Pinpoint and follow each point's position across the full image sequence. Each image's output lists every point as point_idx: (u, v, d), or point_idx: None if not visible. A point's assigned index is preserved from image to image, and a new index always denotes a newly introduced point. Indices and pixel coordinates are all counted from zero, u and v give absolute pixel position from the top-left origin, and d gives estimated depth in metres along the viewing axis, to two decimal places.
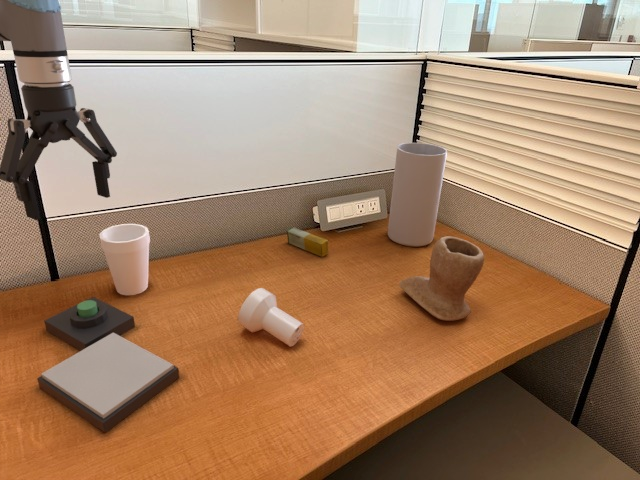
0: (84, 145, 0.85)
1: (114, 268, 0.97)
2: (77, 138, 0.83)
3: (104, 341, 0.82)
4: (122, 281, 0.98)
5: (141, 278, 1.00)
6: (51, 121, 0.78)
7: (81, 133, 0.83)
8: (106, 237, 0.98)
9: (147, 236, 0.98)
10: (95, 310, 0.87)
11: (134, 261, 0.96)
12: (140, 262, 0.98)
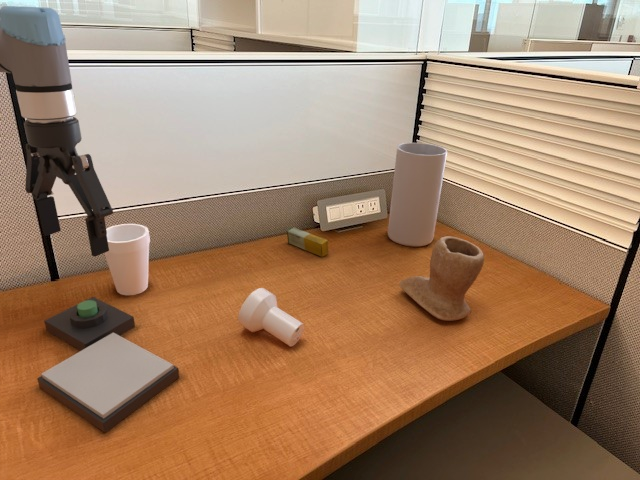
0: (52, 179, 0.81)
1: (114, 268, 0.97)
2: None
3: (104, 341, 0.82)
4: (122, 281, 0.98)
5: (141, 278, 1.00)
6: None
7: None
8: None
9: (147, 236, 0.98)
10: (95, 310, 0.87)
11: (134, 261, 0.96)
12: (140, 262, 0.98)
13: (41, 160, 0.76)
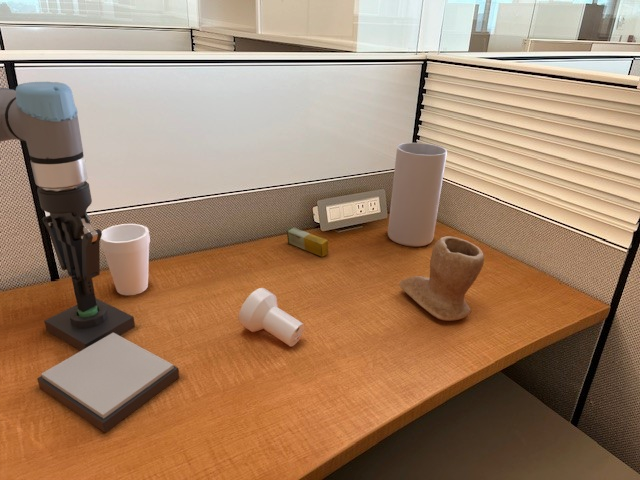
0: None
1: (114, 268, 0.97)
2: None
3: (104, 341, 0.82)
4: (122, 281, 0.98)
5: (141, 278, 1.00)
6: None
7: None
8: (106, 237, 0.98)
9: (147, 236, 0.98)
10: (96, 313, 0.87)
11: (134, 261, 0.96)
12: (140, 262, 0.98)
13: (53, 222, 0.79)
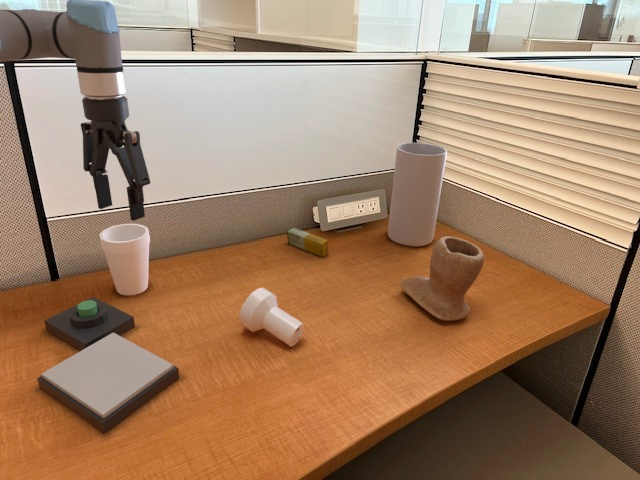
0: (105, 154, 0.93)
1: (114, 268, 0.97)
2: None
3: (104, 341, 0.82)
4: (122, 281, 0.98)
5: (141, 278, 1.00)
6: None
7: None
8: (106, 237, 0.98)
9: (147, 236, 0.98)
10: (95, 310, 0.87)
11: (134, 261, 0.96)
12: (140, 262, 0.98)
13: (95, 133, 0.88)
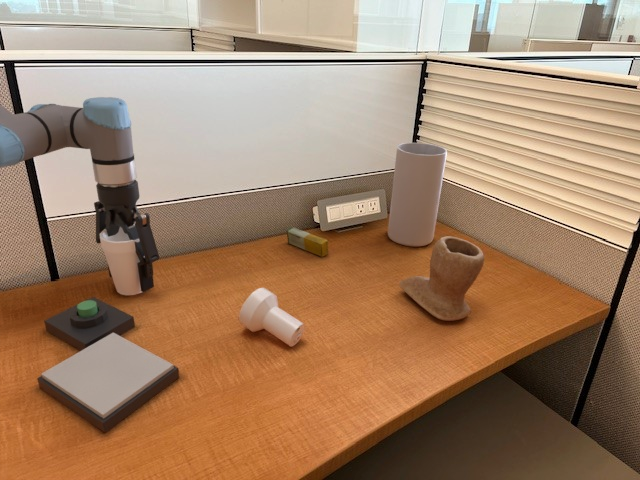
0: (116, 229, 0.99)
1: (114, 268, 0.97)
2: None
3: (104, 341, 0.82)
4: (122, 281, 0.98)
5: None
6: None
7: None
8: (106, 237, 0.98)
9: None
10: (95, 310, 0.87)
11: (134, 261, 0.96)
12: None
13: (107, 213, 0.95)
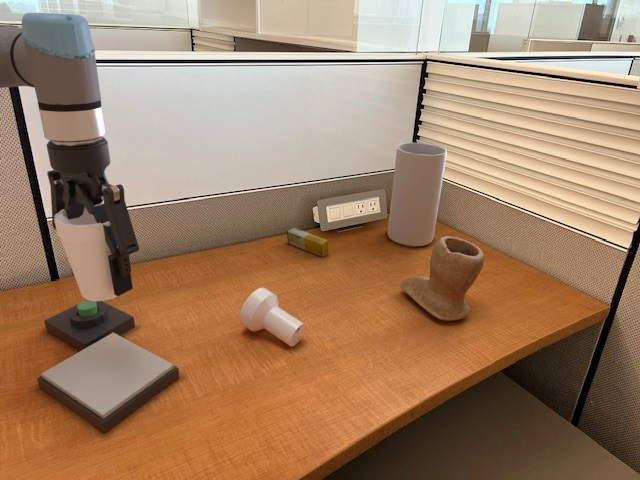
0: (80, 210, 0.72)
1: (76, 263, 0.69)
2: None
3: (104, 341, 0.82)
4: (88, 282, 0.70)
5: None
6: None
7: None
8: (65, 220, 0.70)
9: None
10: (95, 310, 0.87)
11: (104, 253, 0.69)
12: None
13: (65, 186, 0.67)
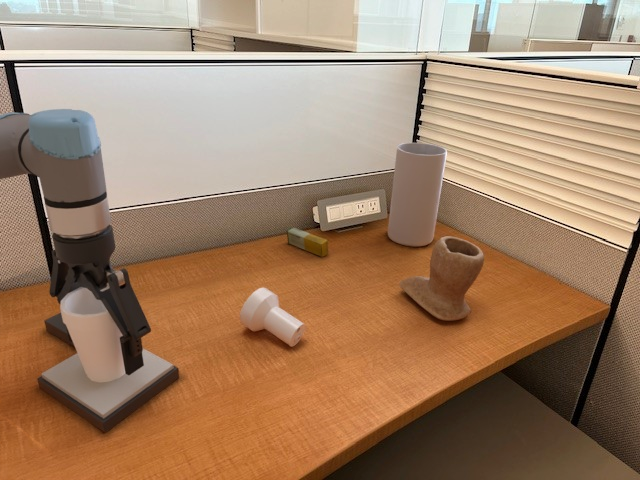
0: (80, 285, 0.72)
1: (81, 348, 0.69)
2: None
3: None
4: (93, 365, 0.71)
5: (119, 358, 0.72)
6: None
7: None
8: (71, 304, 0.71)
9: None
10: None
11: (109, 339, 0.69)
12: (118, 339, 0.70)
13: (70, 272, 0.67)
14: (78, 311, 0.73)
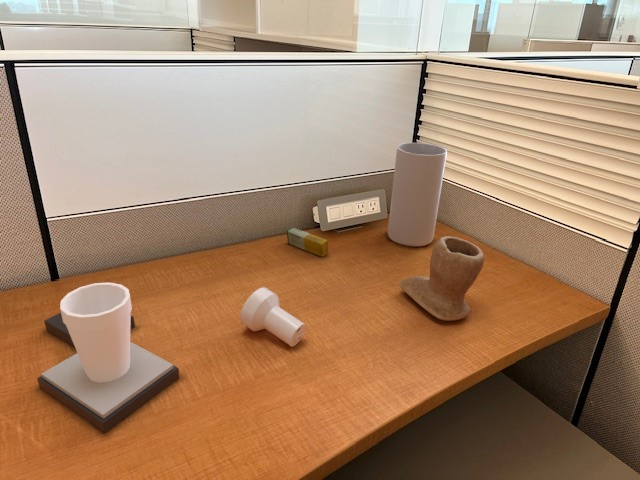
0: None
1: (81, 349, 0.69)
2: None
3: None
4: (93, 365, 0.71)
5: (119, 359, 0.72)
6: None
7: None
8: (71, 304, 0.71)
9: (127, 303, 0.70)
10: None
11: (109, 339, 0.69)
12: (118, 339, 0.70)
13: None
14: (78, 311, 0.72)
